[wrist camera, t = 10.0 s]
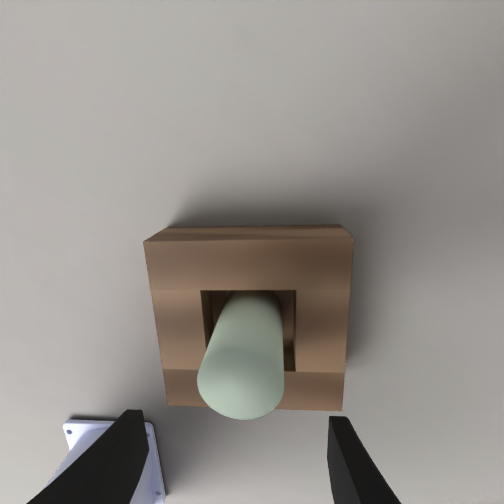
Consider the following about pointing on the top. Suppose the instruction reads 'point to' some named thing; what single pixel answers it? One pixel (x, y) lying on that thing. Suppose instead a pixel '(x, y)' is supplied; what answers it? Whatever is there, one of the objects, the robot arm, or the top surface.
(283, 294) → the socket block
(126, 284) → the top surface
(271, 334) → the peg
